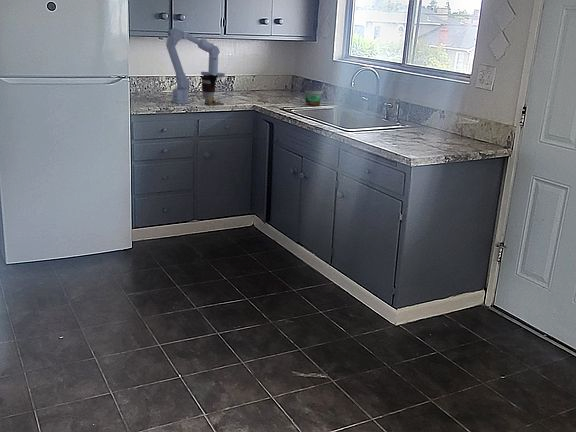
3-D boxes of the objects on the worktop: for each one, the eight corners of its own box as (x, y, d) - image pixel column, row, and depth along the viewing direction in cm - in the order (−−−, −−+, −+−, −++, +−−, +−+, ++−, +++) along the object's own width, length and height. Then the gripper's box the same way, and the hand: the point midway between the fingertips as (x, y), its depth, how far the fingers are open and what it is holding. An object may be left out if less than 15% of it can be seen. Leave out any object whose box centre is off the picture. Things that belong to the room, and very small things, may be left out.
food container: (306, 106, 419) (307, 90, 415) (303, 104, 424) (304, 89, 421) (324, 106, 422) (325, 91, 419) (321, 105, 427) (322, 90, 424)
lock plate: (209, 105, 395) (209, 100, 394) (204, 104, 399) (204, 98, 398) (223, 104, 402) (224, 99, 401) (218, 103, 406) (219, 97, 405)
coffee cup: (205, 99, 417) (206, 75, 412) (197, 96, 424) (198, 73, 419) (218, 98, 423) (219, 75, 418) (210, 96, 430) (211, 73, 425)
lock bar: (214, 101, 402) (214, 97, 401) (216, 102, 400) (216, 98, 399) (206, 101, 399) (206, 97, 399) (207, 102, 398) (207, 98, 397)
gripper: (200, 65, 396) (199, 87, 401) (223, 67, 396) (223, 89, 400) (202, 64, 403) (202, 85, 407) (225, 65, 402) (224, 87, 407)
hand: (212, 87), depth 404 cm, fingers closed
